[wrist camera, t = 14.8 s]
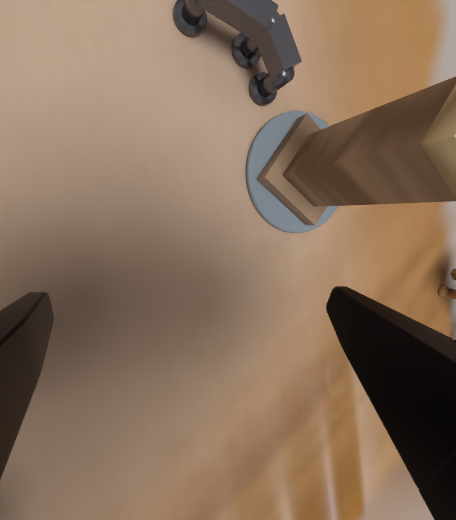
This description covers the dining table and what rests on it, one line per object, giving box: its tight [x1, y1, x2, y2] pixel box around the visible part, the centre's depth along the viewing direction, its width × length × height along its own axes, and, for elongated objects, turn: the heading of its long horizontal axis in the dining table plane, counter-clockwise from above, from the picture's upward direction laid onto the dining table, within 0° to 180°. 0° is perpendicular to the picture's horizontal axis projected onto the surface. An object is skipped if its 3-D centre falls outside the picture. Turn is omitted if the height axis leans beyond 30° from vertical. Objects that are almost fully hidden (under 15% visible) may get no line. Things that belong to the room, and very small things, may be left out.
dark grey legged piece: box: [173, 0, 301, 106], centre depth 17 cm, size 4×8×4 cm, turn 42°
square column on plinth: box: [256, 77, 456, 225], centre depth 16 cm, size 6×6×12 cm
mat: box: [246, 111, 338, 233], centre depth 22 cm, size 9×9×1 cm
